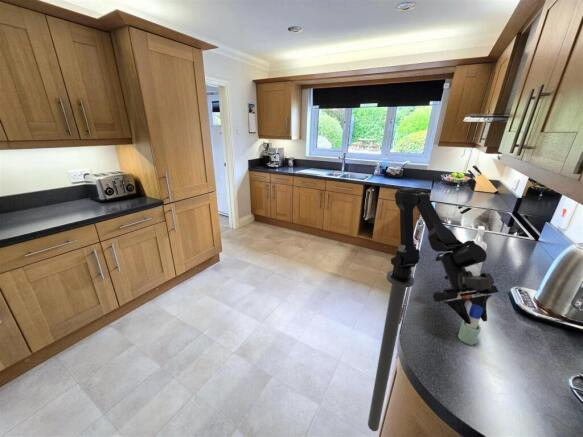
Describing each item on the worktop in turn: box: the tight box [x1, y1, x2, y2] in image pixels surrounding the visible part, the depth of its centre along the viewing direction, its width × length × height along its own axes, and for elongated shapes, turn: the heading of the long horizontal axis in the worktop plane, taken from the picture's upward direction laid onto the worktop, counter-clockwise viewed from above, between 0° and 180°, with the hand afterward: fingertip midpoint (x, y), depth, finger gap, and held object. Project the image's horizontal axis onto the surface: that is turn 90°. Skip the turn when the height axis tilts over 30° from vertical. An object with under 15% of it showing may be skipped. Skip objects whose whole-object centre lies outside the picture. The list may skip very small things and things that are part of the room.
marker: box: [465, 303, 483, 330], centre depth 73 cm, size 3×3×12 cm
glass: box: [457, 319, 482, 346], centre depth 75 cm, size 5×5×6 cm
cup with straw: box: [460, 265, 482, 300], centre depth 94 cm, size 9×9×18 cm
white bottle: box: [469, 225, 488, 272], centre depth 100 cm, size 7×12×25 cm, turn 141°
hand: (477, 322), depth 72 cm, fingers open, 5 cm apart
